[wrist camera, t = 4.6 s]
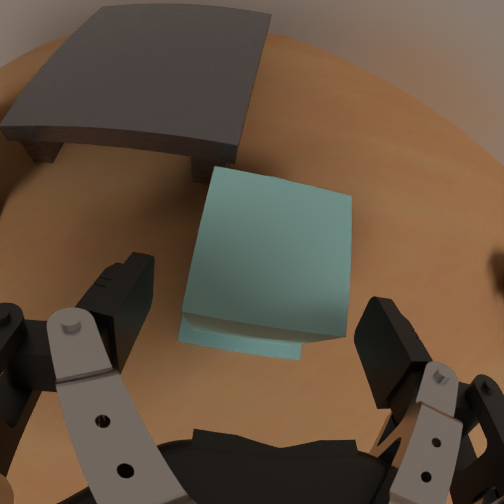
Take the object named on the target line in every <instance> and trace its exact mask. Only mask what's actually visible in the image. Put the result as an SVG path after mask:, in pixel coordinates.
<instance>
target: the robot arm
mask: <svg viewBox="0 0 504 504" xmlns="http://www.w3.org/2000/svg"><path fill="white" fill-rule="evenodd" d="M153 281H154V256H151V255H146V254H141V253H137V252H133V253H132V254H131V255H130V256H129V257H128V259H127V260H126V261H125V263H124V264H121V263H115V264H113V265H111V266H109V267H108V268H106V269H105V270H104V271H103V272H102V274H101V275H100V276H99V278H97V280H96V281H95V282H94V284H93V285H92V286H91V287H90V288H89V290H88V291H87V292H86V293H85V295H84V296H83V297H82V298H81V300H80V301H79V302H78V304H77V305H76V306H75V307H70V308H64V309H61V310H58V311H56V312H55V313H53V314H52V315H51V316H50V318H49V319H48V321H37V320H25V319H24V316H23V312H22V310H21V308H20V307H19V306H17V305H16V304H13V303H0V375H1V374H2V375H1V376H0V504H14V503H13V502H14V495H13V490H12V487H11V485H10V483H9V482H8V480H7V479H6V476H7V473H8V470H9V467H10V465H11V462H12V459H13V457H14V454H15V451H16V449H17V446H18V444H19V441H20V439H21V437H22V434H23V432H24V429H25V427H26V425H27V423H28V420H29V418H30V416H31V414H32V411H33V409H34V407H35V405H36V403H37V401H38V399H39V396H40V394H41V392H42V391H49V392H57V394H58V398H59V401H60V405H61V409H62V412H63V416H64V419H65V423H66V426H67V429H68V432H69V435H70V438H71V441H72V444H73V447H74V450H75V453H76V455H77V458H78V461H79V463H80V466H81V468H82V471H83V473H84V476H85V478H86V480H87V483H88V485H89V486H88V487H86V488H85V489H83V490H81V491H79V492H78V493H76V494H74V495H72V496H70V497H69V498H67V499H65V500H63V501H61V502H59V503H57V504H445V503H446V500H447V496H448V493H449V490H450V494H451V498H452V502H453V504H504V395H503V393H502V391H501V389H500V388H499V386H498V384H497V383H496V382H495V381H494V380H493V379H492V378H490V377H488V376H486V375H482V374H480V375H477V376H476V377H475V379H474V380H473V381H472V382H471V384H466V383H462V382H458V378H457V376H456V374H455V373H454V371H453V370H452V369H451V368H450V367H448V366H447V365H445V364H443V363H441V362H437V361H433V360H432V359H431V357H430V355H429V353H428V352H427V350H426V348H425V347H424V345H423V343H422V342H421V340H420V339H419V337H418V335H417V333H416V332H414V331H415V330H414V328H413V327H412V325H411V323H410V322H409V321H408V320H407V319H406V318H405V317H404V316H403V315H402V314H401V313H400V311H399V310H398V308H397V307H396V305H395V304H394V302H393V301H392V300H391V299H388V298H381V297H375V296H374V297H372V298H371V299H370V300H369V302H368V304H367V306H366V309H365V311H364V313H363V315H362V317H361V319H360V321H359V323H358V325H357V328H356V330H355V334H354V343H355V346H356V349H357V352H358V354H359V357H360V360H361V363H362V365H363V368H364V371H365V374H366V377H367V380H368V383H369V385H370V388H371V391H372V394H373V397H374V400H375V403H376V406H377V409H389V408H390V409H391V413H390V414H389V415H388V416H387V418H386V420H385V422H384V424H383V426H382V429H381V431H380V433H379V435H378V437H377V439H376V441H375V443H374V445H373V447H372V449H371V451H370V452H369V454H368V453H365V452H361V451H358V450H357V446H356V441H355V440H319V441H315V442H310V443H306V444H301V445H296V446H291V447H285V448H277V447H273V446H270V445H266V444H263V443H260V442H256V441H253V440H250V439H247V438H244V437H241V436H238V435H232V434H225V433H218V432H211V431H205V430H199V429H194V431H193V437H192V439H189V440H177V441H171V442H167V443H163V444H160V445H157V446H156V445H155V443H154V441H153V439H152V437H151V436H150V434H149V432H148V430H147V428H146V427H145V425H144V423H143V421H142V419H141V417H140V415H139V413H138V411H137V409H136V407H135V405H134V403H133V401H132V399H131V397H130V395H129V393H128V391H127V389H126V386H125V384H124V382H123V380H122V378H121V375H120V374H121V372H122V370H123V367H124V365H125V363H126V360H127V358H128V356H129V354H130V351H131V349H132V347H133V345H134V342H135V340H136V338H137V336H138V334H139V331H140V329H141V327H142V325H143V323H144V321H145V319H146V316H147V314H148V312H149V310H150V307H151V303H152V298H153ZM2 372H3V373H2ZM478 423H480V425H481V427H482V430H483V432H484V434H485V437H486V439H487V448H486V450H485V452H484V453H483V454H482V455H481V456H480V457H479V458H478V459H477V456H476V454H475V451H474V448H473V446H472V443H471V441H470V438H469V436H468V433H469V432H470V431H471V430H472V429H473V428H474V427H475V426H476V425H477V424H478Z"/></svg>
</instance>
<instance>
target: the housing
mask: <svg viewBox="0 0 504 504" xmlns="http://www.w3.org/2000/svg"><path fill="white" fill-rule="evenodd" d="M351 236H352V196H349V195H345V194H341V193H337V192H333V191H329V190H325V189H321V188H317V187H313V186H309V185H305V184H300V183H296V182H292V181H288V180H286V179H283V178H280V177H275V176H264V175H259V174H254V173H249V172H244V171H239V170H233V169H228V168H223V167H217V166H215V167H214V171H213V174H212V178H211V182H210V186H209V190H208V194H207V198H206V202H205V206H204V210H203V214H202V218H201V223H200V227H199V231H198V235H197V240H196V244H195V249H194V253H193V258H192V262H191V267H190V271H189V276H188V281H187V286H186V291H185V295H184V300H183V306H182V311H181V312H182V313H183V314H182V319H181V324H180V330H179V335H178V341H179V342H184V343H189V344H194V345H199V346H205V347H210V348H216V349H222V350H227V351H234V352H240V353H246V354H253V355H260V356H267V357H275V358H283V359H291V360H300V354H301V346H302V344H304V343H311V342H317V341H324V340H330V339H336V338H342V337H346V328H347V316H348V303H349V288H350V268H351Z"/></svg>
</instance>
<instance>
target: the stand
mask: <svg viewBox="0 0 504 504" xmlns="http://www.w3.org/2000/svg"><path fill="white" fill-rule="evenodd" d="M270 20H271V14H266V13H261V12H255V11H249V10H242V9H235V8H226V7H217V6H206V5H191V4H132V5H118V6H107V7H102V8H100V9H99V10H98V11H97V12H96V13H95V14H94V15H92V16H91V17H90V18H89V19H88V20H87V21H86V22H85V23H84V24H83V25H82V26H80V27H79V28H78V29H77V30H76V31H75V32H74V33H73V34H72V35H71V36H70V37H69V38H68V39H67V40H66V41H65V42H64V43H63V44H62V45H61V46H60V47H59V49H58V50H57V51H56V52H55V53H54V54H53V55H52V56H51V57H50V58H49V60H48V61H47V62H46V63H45V64H44V65H43V66H42V68H41V69H40V70H39V71H38V72H37V74H36V75H35V76H34V77H33V79H32V80H31V81H30V82H29V84H28V85H27V86H26V87H25V89H24V90H23V91H22V93H21V94H20V95H19V97H18V98H17V99H16V101H15V102H14V104H13V105H12V107H11V108H10V109H9V111H8V112H7V114H6V115H5V117H4V118H3V120H2V121H1V123H0V130H1V131H2V133H3V134H4V136H5V137H6V138H7V140H15V141H20V142H21V143H22V145H23V146H24V148H25V149H26V151H27V152H28V154H29V155H30V157H31V158H32V159H33V161H34V162H46V163H53V161H54V159H55V157H56V155H57V153H58V152H59V150H60V148H61V146H62V144H63V142H66V143H80V144H93V145H104V146H114V147H124V148H133V149H141V150H149V151H157V152H164V153H171V154H178V155H185V156H191V157H192V177H193V182H197V183H203V184H209V185H210V182H211V178H212V174H213V171H214V167H215V166H217V167H223V168H228V166H229V163H232V164H235V161H236V157H237V152H238V148H239V143H240V139H241V135H242V131H243V126H244V122H245V118H246V114H247V110H248V106H249V102H250V98H251V94H252V90H253V86H254V82H255V78H256V74H257V70H258V66H259V62H260V58H261V55H262V51H263V47H264V43H265V40H266V36H267V32H268V29H269V24H270Z"/></svg>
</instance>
